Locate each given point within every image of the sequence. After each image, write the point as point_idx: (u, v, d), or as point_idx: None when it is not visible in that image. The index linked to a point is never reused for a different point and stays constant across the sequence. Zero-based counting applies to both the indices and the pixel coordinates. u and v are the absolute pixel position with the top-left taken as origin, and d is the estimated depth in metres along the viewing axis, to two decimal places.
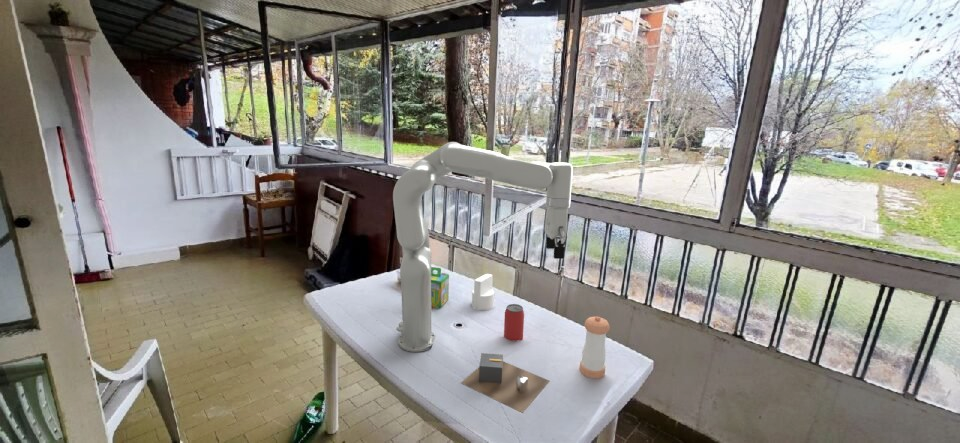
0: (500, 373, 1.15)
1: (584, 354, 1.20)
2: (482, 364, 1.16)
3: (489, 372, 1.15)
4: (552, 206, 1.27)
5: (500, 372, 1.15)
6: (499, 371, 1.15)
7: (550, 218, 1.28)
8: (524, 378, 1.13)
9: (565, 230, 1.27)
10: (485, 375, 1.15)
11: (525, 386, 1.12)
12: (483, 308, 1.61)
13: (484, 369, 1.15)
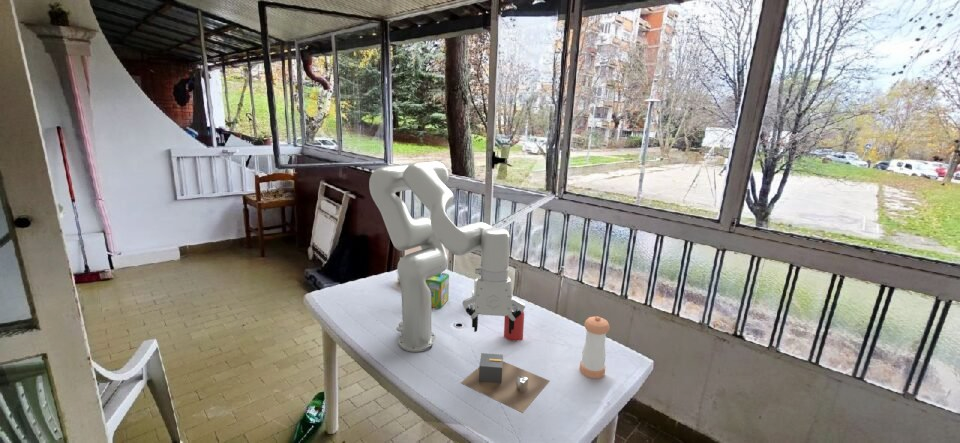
0: (500, 373, 1.15)
1: (584, 354, 1.20)
2: (482, 364, 1.16)
3: (489, 372, 1.15)
4: (504, 280, 1.08)
5: (500, 372, 1.15)
6: (499, 371, 1.15)
7: (501, 294, 1.09)
8: (524, 378, 1.13)
9: None
10: (485, 375, 1.15)
11: (525, 386, 1.12)
12: None
13: (484, 369, 1.15)
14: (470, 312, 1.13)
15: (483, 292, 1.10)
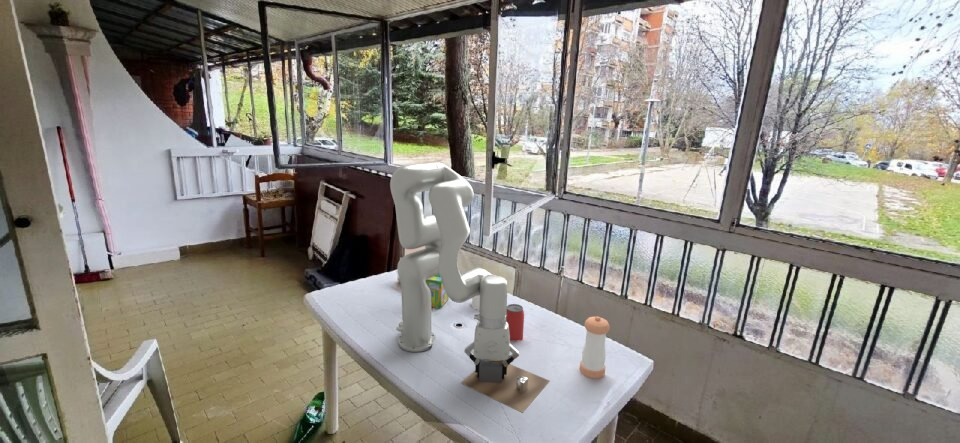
0: (500, 373, 1.15)
1: (584, 354, 1.20)
2: (482, 364, 1.16)
3: (489, 372, 1.15)
4: (502, 327, 1.12)
5: (500, 372, 1.15)
6: (499, 371, 1.15)
7: (499, 340, 1.13)
8: (524, 378, 1.13)
9: None
10: (485, 375, 1.15)
11: (525, 386, 1.12)
12: None
13: (484, 369, 1.15)
14: (473, 358, 1.17)
15: (482, 338, 1.13)
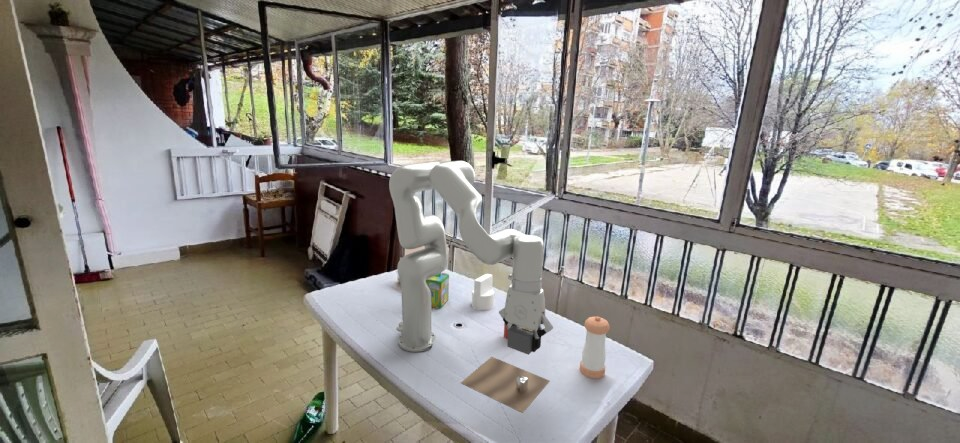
0: (527, 343, 1.05)
1: (584, 354, 1.20)
2: (512, 329, 1.08)
3: (517, 339, 1.07)
4: (531, 292, 1.02)
5: (527, 342, 1.05)
6: (526, 340, 1.05)
7: (528, 306, 1.03)
8: (524, 378, 1.13)
9: None
10: (513, 341, 1.08)
11: (525, 386, 1.12)
12: (483, 308, 1.61)
13: (512, 334, 1.07)
14: (506, 322, 1.11)
15: (511, 300, 1.06)
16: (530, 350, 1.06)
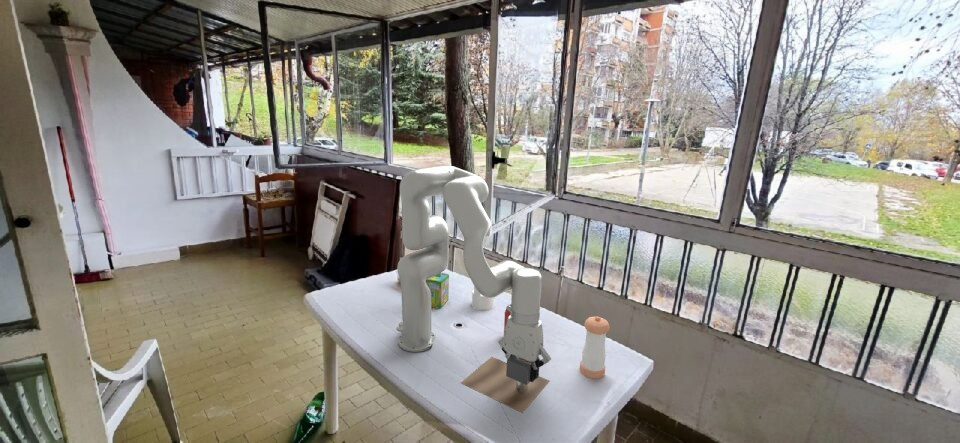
0: (526, 374, 1.07)
1: (584, 354, 1.20)
2: (511, 359, 1.10)
3: (516, 369, 1.09)
4: (529, 324, 1.04)
5: (526, 373, 1.07)
6: (524, 371, 1.07)
7: (526, 338, 1.05)
8: None
9: None
10: (512, 371, 1.10)
11: (525, 386, 1.12)
12: (483, 308, 1.61)
13: (511, 365, 1.10)
14: (505, 351, 1.13)
15: (510, 331, 1.08)
16: (528, 380, 1.08)
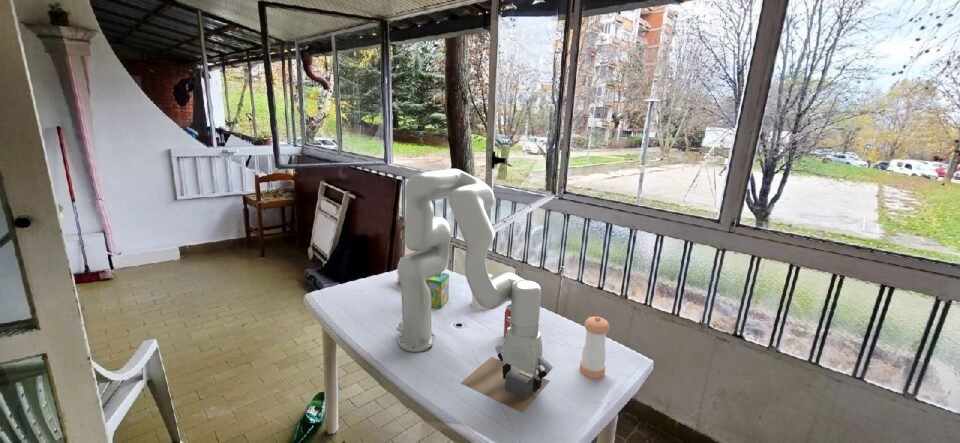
0: (524, 389, 1.09)
1: (584, 354, 1.20)
2: (509, 373, 1.12)
3: (514, 384, 1.10)
4: (528, 336, 1.05)
5: (524, 388, 1.09)
6: (523, 386, 1.09)
7: (525, 350, 1.06)
8: None
9: (541, 356, 1.09)
10: (511, 386, 1.11)
11: None
12: (483, 308, 1.61)
13: (510, 379, 1.11)
14: (501, 358, 1.14)
15: (509, 342, 1.09)
16: (527, 395, 1.10)
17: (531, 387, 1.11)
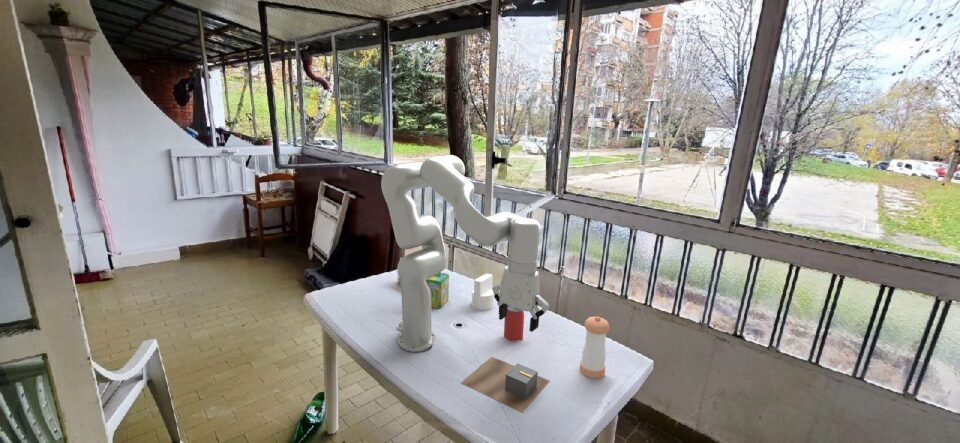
0: (524, 389, 1.09)
1: (584, 354, 1.20)
2: (509, 373, 1.12)
3: (514, 384, 1.10)
4: (526, 273, 1.04)
5: (524, 388, 1.09)
6: (523, 386, 1.09)
7: (523, 287, 1.05)
8: None
9: None
10: (511, 386, 1.11)
11: None
12: (483, 308, 1.61)
13: (510, 379, 1.11)
14: (498, 299, 1.13)
15: (507, 281, 1.08)
16: (527, 395, 1.10)
17: (531, 387, 1.11)
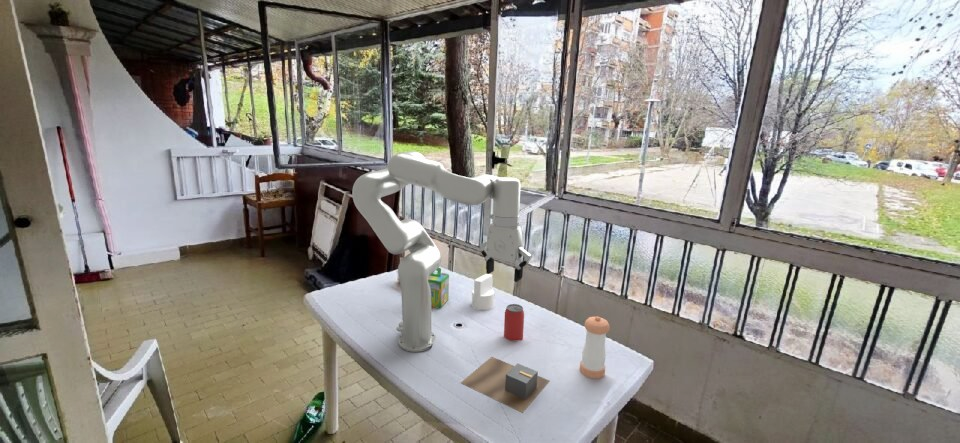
0: (524, 389, 1.09)
1: (584, 354, 1.20)
2: (509, 373, 1.12)
3: (514, 384, 1.10)
4: (509, 227, 1.14)
5: (524, 388, 1.09)
6: (523, 386, 1.09)
7: (506, 240, 1.15)
8: None
9: None
10: (511, 386, 1.11)
11: None
12: (483, 308, 1.61)
13: (510, 379, 1.11)
14: (485, 254, 1.23)
15: (492, 236, 1.18)
16: (527, 395, 1.10)
17: (531, 387, 1.11)
